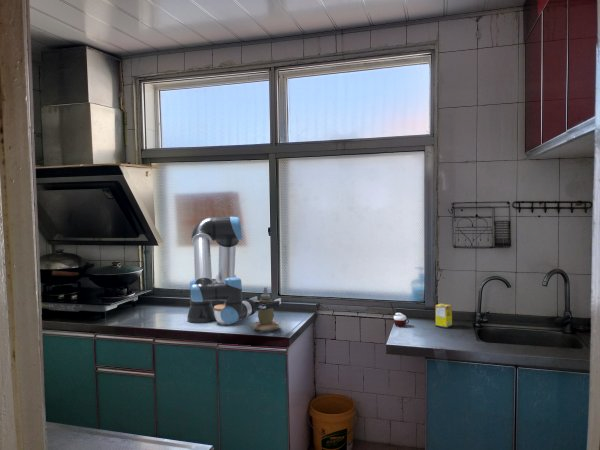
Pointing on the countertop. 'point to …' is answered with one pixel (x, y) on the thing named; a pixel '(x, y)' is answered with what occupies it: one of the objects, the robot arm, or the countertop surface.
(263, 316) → the squeeze bottle
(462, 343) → the countertop surface
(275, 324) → the tan round disc
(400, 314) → the cocoa
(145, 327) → the countertop surface
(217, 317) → the lidded bowl
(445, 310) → the supplement box
